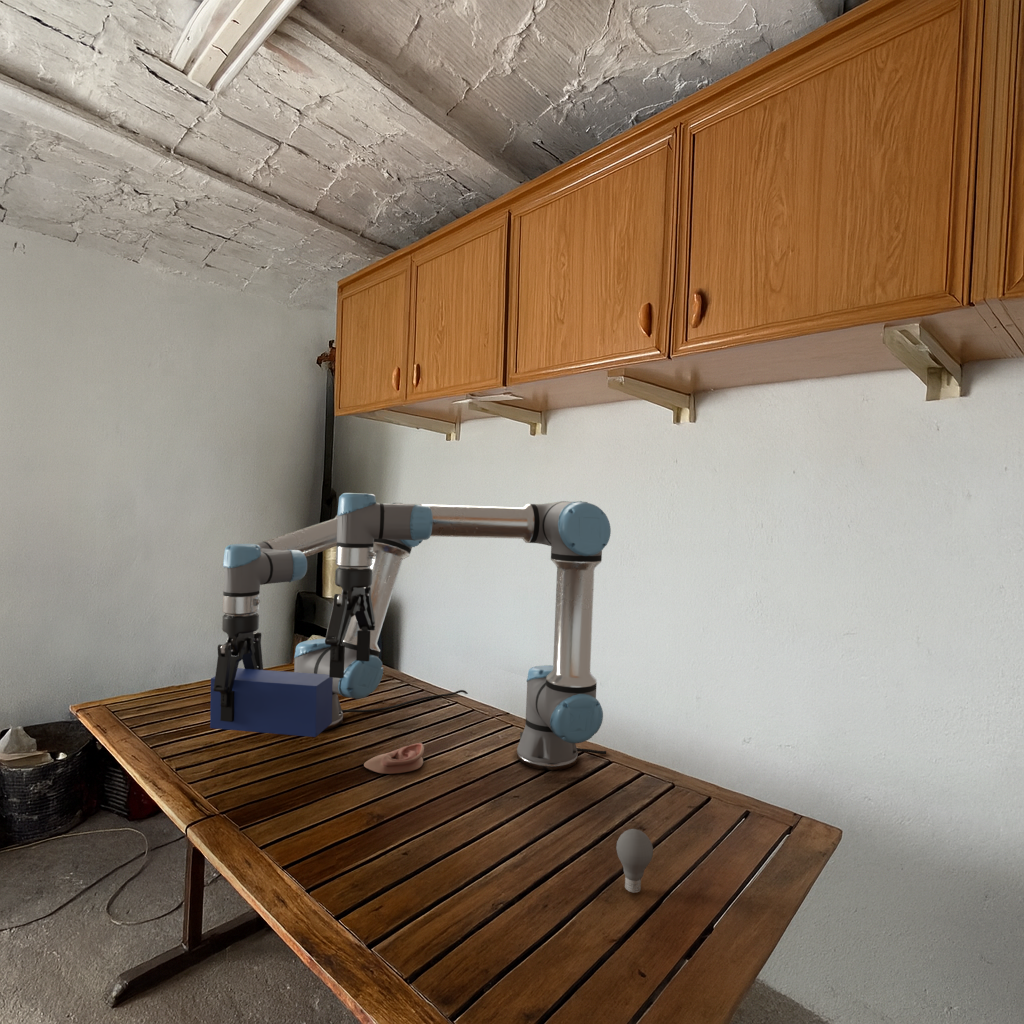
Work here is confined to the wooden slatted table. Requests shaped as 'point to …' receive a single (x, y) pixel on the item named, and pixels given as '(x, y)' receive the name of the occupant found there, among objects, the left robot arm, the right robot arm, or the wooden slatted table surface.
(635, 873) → the light bulb
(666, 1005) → the wooden slatted table surface
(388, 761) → the anatomical model
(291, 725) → the box
